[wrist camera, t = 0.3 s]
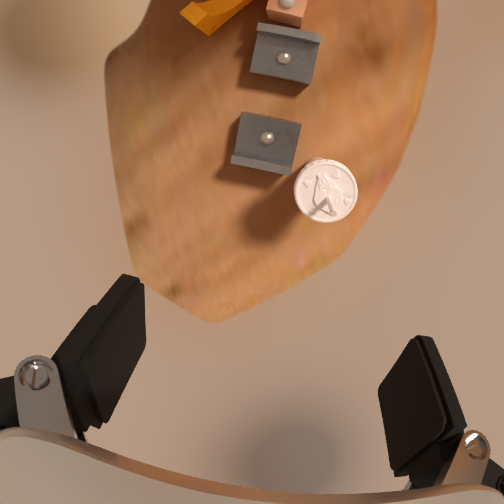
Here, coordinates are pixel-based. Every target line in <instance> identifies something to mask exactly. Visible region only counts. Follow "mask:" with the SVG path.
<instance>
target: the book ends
mask: <svg viewBox="0 0 504 504" xmlns="http://www.w3.org/2000/svg"><path fill="white" fill-rule="evenodd" d="M257 32H258V34H257V38H256V43H255V48H254V52H253V57H252V62H251V67H250V73H252V74H257V75H262V76H268V77H273V78H278V79H283V80H288V81H292V82H297V83H301V84H306V85H310V84H311V80H312V75H313V71H314V66H315V61H316V57H317V52H318V48H319V44H320V42H321V37H322V35H320V34H316V33H312V32H307V31H303V30H298V29H293V28H288V27H283V26H278V25H272V24H265V23H259V22H258V25H257ZM300 129H301V123H297V122H293V121H288V120H284V119H279V118H274V117H270V116H265V115H259V114H254V113H249V112H241V117H240V122H239V127H238V133H237V138H236V144H235V149H234V153H233V154H232V156H231V161H230V163H231V164H236V165H241V166H246V167H251V168H256V169H261V170H265V171H270V172H274V173H279V174H283V175H288V176H290V175H291V171H292V164H293V159H294V155H295V151H296V146H297V142H298V138H299V133H300Z"/></svg>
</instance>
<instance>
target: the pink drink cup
mask: <svg viewBox="0 0 504 504" xmlns="http://www.w3.org/2000/svg"><path fill="white" fill-rule="evenodd" d="M357 194H358V190H357V184H356V181H355V179H354V177H353V175H352V173H351V172H350V171H349V169H348V168H347V167H345V166H344V165H343V164H341V163H339V162H336V161H334V160H326V159H323V158H319V157H317V158H312V159H310V160H309V161H308V162H307V163H306V164H305V166H304V168H303V169H302V170H301V171H300V173H299V174H298V176H297V178H296V181H295V183H294V196H295V200H296V203H297V205H298V207H299V209H300V210H301V212H302V213H303V214H304V215H305V216H307V217H308V218H310V219H312V220H314V221H317V222H322V223H330V222H335V221H338V220H340V219H342V218H344V217H345V216H346V215H347V214H348V213H349V212H350V211H351V210H352V209H353V207H354V205H355V203H356V200H357Z"/></svg>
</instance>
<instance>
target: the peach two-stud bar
mask: <svg viewBox="0 0 504 504" xmlns="http://www.w3.org/2000/svg"><path fill="white" fill-rule="evenodd" d="M308 3H309V0H268V3H267V7H266V12H267V15H268V19H269V20H272V21H277V22H281V23H285V24H289V25H293V26H297V27H300V28H301V25H302V22H303V19H304V16H305V12H306V9H307V6H308Z"/></svg>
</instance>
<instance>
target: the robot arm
mask: <svg viewBox="0 0 504 504" xmlns="http://www.w3.org/2000/svg"><path fill="white" fill-rule="evenodd" d="M145 345H146V326H145V296H144V284H143V283H140V279H139V278H137V277H133V276H130V275H126V274H122V275H121V276H120V277H119V278H118V280H117V281H116V282H115V283H114V284H113V286H112V287H111V288H110V289H109V290H108V292H107V293H106V294H105V295H104V297H103V298H102V299H101V300H100V302H99V303H98V304H97V305H93V306H91V307H90V308H89V309H88V311H87V312H86V313H85V314H84V316H83V317H82V318H81V319H80V321H79V322H78V323H77V324H76V326H75V327H74V329H73V330H72V331H71V332H70V334H69V335H68V336H67V338H66V339H65V340H64V342H63V343H62V344H61V346H60V347H59V348H58V350H57V351H56V352H55V354H54V355H53V356H52V358H51V359H49V358H48V357H45V356H41V355H39V356H38V355H36V356H31V357H27V358H26V359H24V360H22V361H21V362H20V363H19V364H18V366H17V367H16V370H15V373H14V376H11V377H6V378H2V379H0V504H504V469H503V468H502V467H500V466H499V465H498V464H496V463H495V462H494V461H492V460H491V459H490V458H489V457H490V445H489V442H488V440H487V438H486V437H485V436H484V435H483V434H482V433H480V432H478V431H476V430H470V431H467V432H466V433H464V429H465V428H466V427H467V424H466V421H465V418H464V415H463V412H462V409H461V407H460V404H459V401H458V398H457V396H456V393H455V391H454V388H453V385H452V383H451V380H450V378H449V375H448V373H447V370H446V368H445V366H444V363H443V361H442V359H441V356H440V354H439V352H438V349H437V347H436V345H435V343H434V340H433V339H432V338H431V337H428V336H420V335H417V336H416V337H414V338H413V339H411V340H410V341H409V343H408V344H407V346H406V347H405V349H404V350H403V352H402V354H401V355H400V357H399V358H398V360H397V361H396V363H395V364H394V366H393V367H392V369H391V370H390V371H389V373H388V374H387V376H386V377H385V379H384V380H383V382H382V383H381V384H380V386H379V388H378V397H379V402H380V408H381V413H382V418H383V423H384V429H385V435H386V442H387V448H388V454H389V461H390V467H391V469H392V470H394V476H395V477H401V476H407V475H409V479H410V480H409V481H408V483H407V484H406V486H405V488H404V489H403V490H402V491H393V492H380V493H363V494H313V493H311V494H310V493H294V492H283V491H272V490H264V489H256V488H249V487H242V486H236V485H230V484H224V483H219V482H214V481H209V480H205V479H200V478H196V477H192V476H188V475H183V474H180V473H176V472H172V471H169V470H165V469H162V468H158V467H155V466H152V465H149V464H145V463H142V462H139V461H136V460H133V459H130V458H127V457H124V456H121V455H118V454H116V453H113V452H110V451H108V450H105V449H103V448H100V447H97V446H94V445H92V444H89V443H88V440H87V437H86V435H85V432H86V431H87V430H88V428H89V426H90V425H91V426H93V427H96V428H98V429H100V428H101V425H102V423H103V422H104V423H107V422H108V421H109V420H110V417H111V415H112V413H113V411H114V409H115V407H116V405H117V403H118V401H119V399H120V397H121V394H122V392H123V391H124V389H125V387H126V385H127V383H128V381H129V379H130V377H131V375H132V373H133V371H134V368H135V366H136V365H137V363H138V361H139V359H140V357H141V355H142V353H143V351H144V349H145Z"/></svg>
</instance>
